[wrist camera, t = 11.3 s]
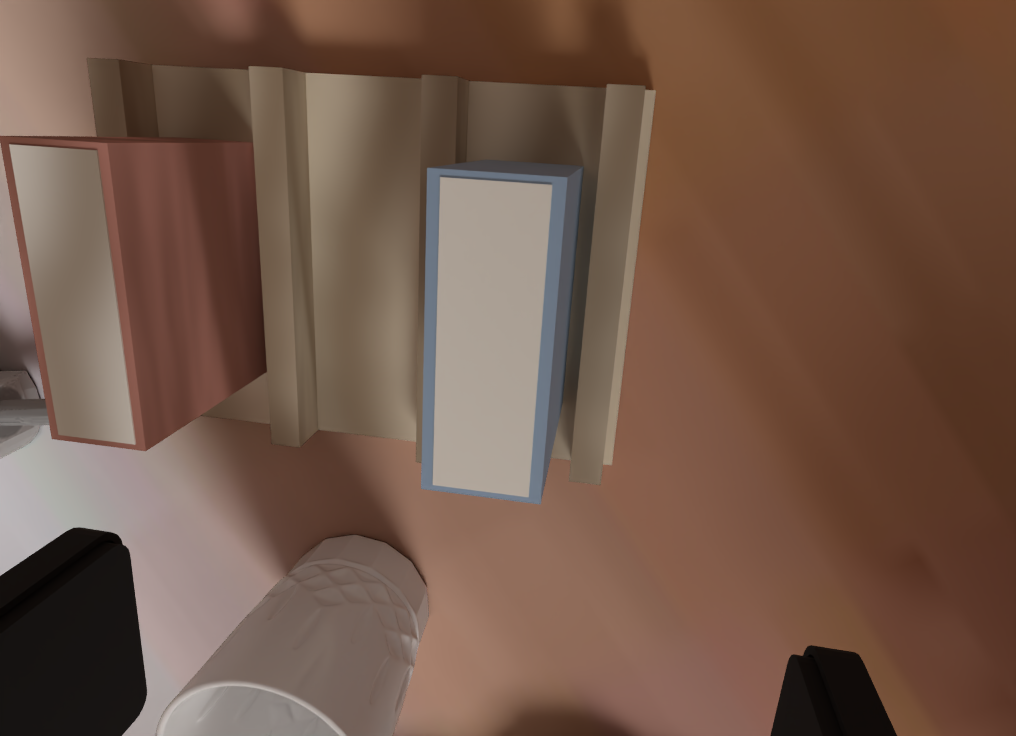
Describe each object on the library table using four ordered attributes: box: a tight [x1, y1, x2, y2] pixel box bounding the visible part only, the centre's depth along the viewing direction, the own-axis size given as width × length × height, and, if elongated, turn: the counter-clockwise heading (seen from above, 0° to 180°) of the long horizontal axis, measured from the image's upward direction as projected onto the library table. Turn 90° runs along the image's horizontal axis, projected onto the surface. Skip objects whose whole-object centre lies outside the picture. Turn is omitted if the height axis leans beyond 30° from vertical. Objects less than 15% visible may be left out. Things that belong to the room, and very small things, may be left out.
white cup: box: [156, 535, 429, 736], centre depth 28 cm, size 8×8×10 cm
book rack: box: [0, 58, 656, 485], centre depth 23 cm, size 20×14×9 cm
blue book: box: [421, 160, 584, 504], centre depth 22 cm, size 4×9×8 cm, turn 177°
